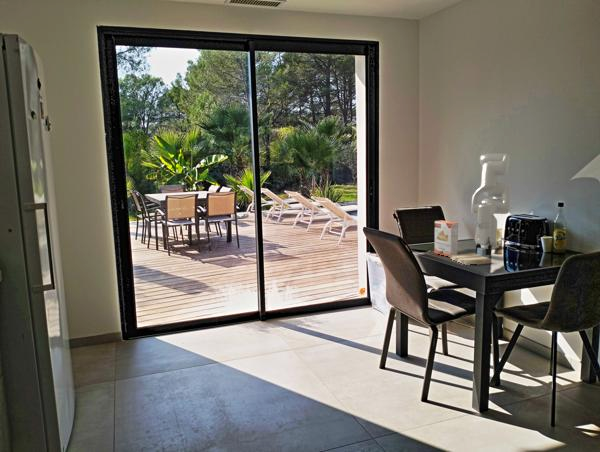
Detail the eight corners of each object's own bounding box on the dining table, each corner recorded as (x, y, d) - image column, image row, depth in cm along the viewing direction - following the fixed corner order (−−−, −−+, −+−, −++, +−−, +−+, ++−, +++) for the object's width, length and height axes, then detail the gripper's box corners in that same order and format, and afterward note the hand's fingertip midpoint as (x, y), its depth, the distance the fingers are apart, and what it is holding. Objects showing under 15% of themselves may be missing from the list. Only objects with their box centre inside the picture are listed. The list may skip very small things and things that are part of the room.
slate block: (476, 256, 290) (477, 248, 289) (484, 255, 291) (484, 247, 290) (481, 257, 285) (482, 249, 285) (489, 257, 286) (489, 249, 286)
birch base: (450, 259, 283) (450, 255, 283) (474, 257, 287) (474, 253, 286) (465, 265, 268) (465, 261, 267) (490, 263, 272) (491, 258, 271)
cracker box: (433, 254, 298) (434, 220, 295) (441, 253, 301) (441, 219, 298) (450, 258, 286) (451, 223, 283) (457, 257, 289) (458, 222, 285)
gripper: (470, 223, 293) (469, 251, 295) (487, 227, 276) (486, 256, 279) (480, 222, 294) (480, 250, 297) (498, 226, 278) (497, 255, 280)
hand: (483, 253), depth 288 cm, fingers open, 9 cm apart
